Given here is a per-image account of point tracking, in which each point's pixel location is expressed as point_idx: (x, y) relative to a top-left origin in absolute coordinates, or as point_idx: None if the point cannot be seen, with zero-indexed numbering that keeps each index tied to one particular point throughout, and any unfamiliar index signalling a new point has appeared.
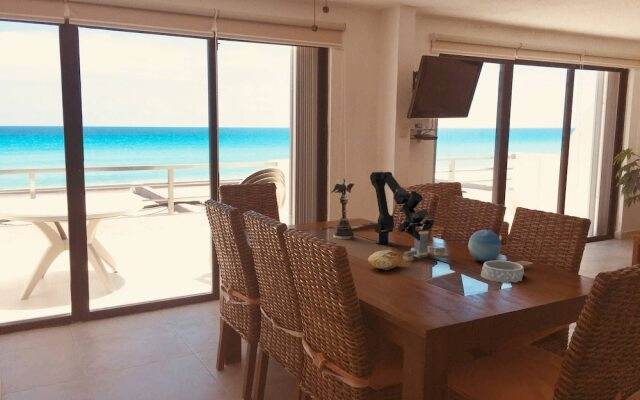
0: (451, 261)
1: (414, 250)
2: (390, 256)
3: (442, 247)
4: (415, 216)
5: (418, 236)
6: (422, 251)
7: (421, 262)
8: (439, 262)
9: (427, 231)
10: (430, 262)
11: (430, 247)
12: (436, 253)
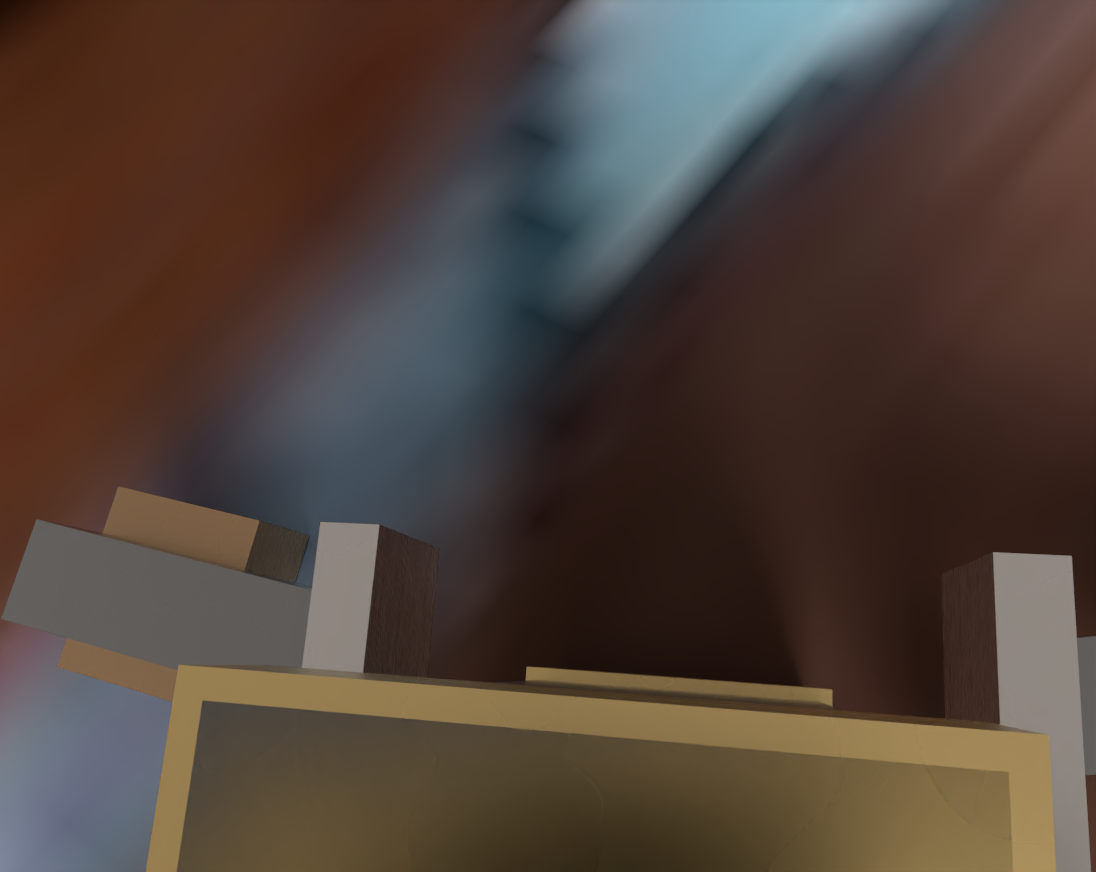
0: (383, 141)
1: (1064, 715)
2: None
3: (33, 611)
4: None
5: None
6: (712, 692)
7: (1029, 325)
8: (648, 169)
9: (290, 677)
10: (827, 242)
11: None
12: None
